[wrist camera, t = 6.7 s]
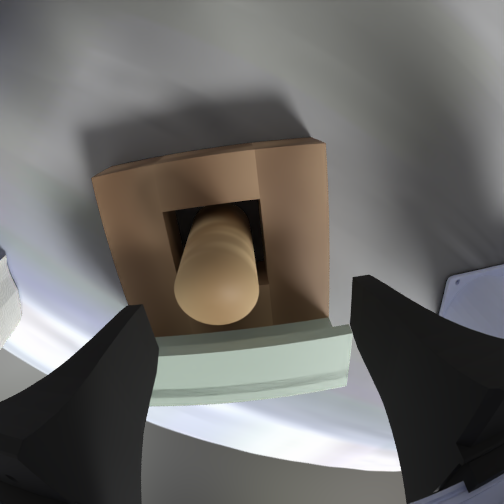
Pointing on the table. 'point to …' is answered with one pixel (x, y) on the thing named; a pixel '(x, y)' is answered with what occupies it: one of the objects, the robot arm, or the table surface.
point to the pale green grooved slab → (251, 363)
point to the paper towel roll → (8, 303)
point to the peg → (218, 267)
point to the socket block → (217, 192)
